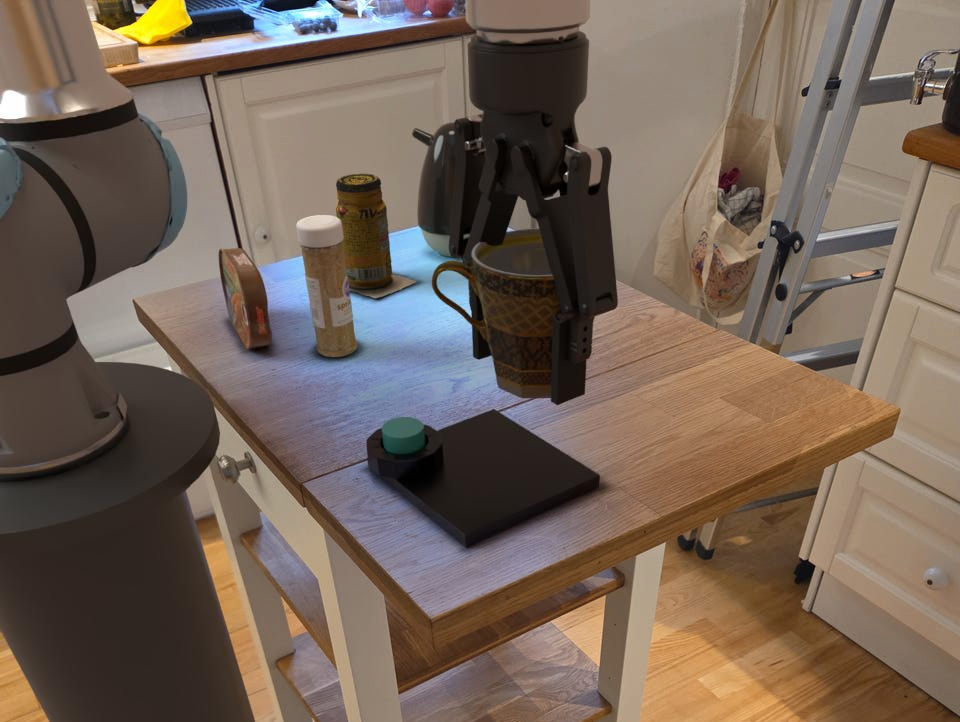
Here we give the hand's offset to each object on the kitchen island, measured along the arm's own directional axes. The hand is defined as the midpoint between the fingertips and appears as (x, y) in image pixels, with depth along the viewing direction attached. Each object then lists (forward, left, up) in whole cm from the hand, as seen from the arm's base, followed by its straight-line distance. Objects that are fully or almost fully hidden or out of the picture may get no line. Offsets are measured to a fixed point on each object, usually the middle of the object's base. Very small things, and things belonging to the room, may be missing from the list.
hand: (526, 374), depth 69 cm
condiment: (-48, +13, -10) cm, 51 cm away
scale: (-3, -3, -10) cm, 11 cm away
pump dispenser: (-51, +28, -10) cm, 59 cm away
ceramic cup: (-1, 0, -1) cm, 1 cm away
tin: (-44, -5, -10) cm, 46 cm away
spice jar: (-34, 0, -10) cm, 36 cm away
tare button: (-8, -7, -7) cm, 13 cm away
